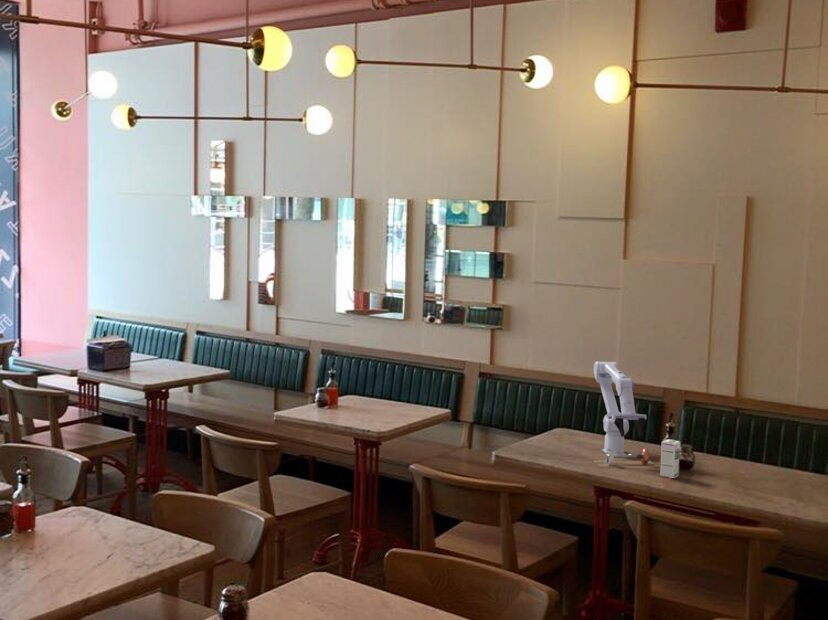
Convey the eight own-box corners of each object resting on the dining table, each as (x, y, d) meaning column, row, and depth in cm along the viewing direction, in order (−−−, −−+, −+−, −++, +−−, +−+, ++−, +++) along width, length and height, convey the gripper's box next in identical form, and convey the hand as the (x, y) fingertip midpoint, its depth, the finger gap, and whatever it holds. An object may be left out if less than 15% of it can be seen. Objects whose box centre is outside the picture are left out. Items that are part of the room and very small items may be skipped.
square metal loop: (603, 462, 398) (604, 448, 398) (610, 462, 399) (611, 448, 398) (608, 465, 392) (609, 452, 392) (615, 465, 393) (616, 452, 392)
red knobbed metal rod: (608, 465, 392) (609, 451, 392) (603, 461, 398) (604, 447, 398) (649, 465, 395) (650, 451, 394) (644, 461, 401) (644, 447, 400)
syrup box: (673, 479, 377) (675, 443, 376) (659, 476, 381) (661, 440, 379) (678, 476, 382) (681, 441, 380) (664, 473, 385) (667, 438, 384)
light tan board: (592, 461, 401) (592, 460, 401) (648, 461, 404) (648, 460, 404) (601, 469, 389) (601, 467, 389) (659, 468, 392) (659, 467, 392)
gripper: (614, 402, 397) (618, 433, 391) (647, 402, 399) (651, 433, 393) (608, 407, 403) (612, 438, 397) (641, 407, 405) (645, 438, 399)
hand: (631, 436), depth 396 cm, fingers open, 7 cm apart
